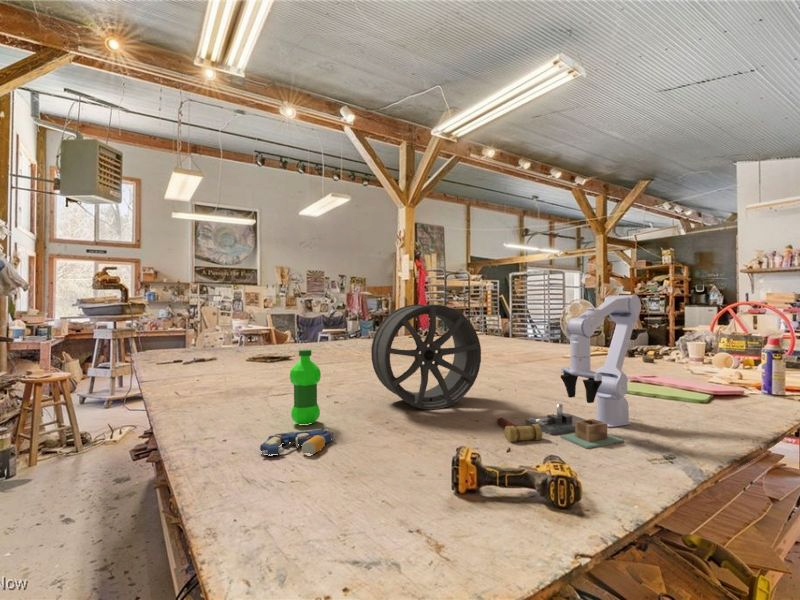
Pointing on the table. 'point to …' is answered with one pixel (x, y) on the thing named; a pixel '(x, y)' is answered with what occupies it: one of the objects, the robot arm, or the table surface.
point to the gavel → (520, 431)
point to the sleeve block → (591, 430)
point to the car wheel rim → (429, 356)
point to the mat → (593, 444)
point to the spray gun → (297, 441)
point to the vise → (555, 422)
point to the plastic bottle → (305, 389)
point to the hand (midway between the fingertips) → (580, 399)
